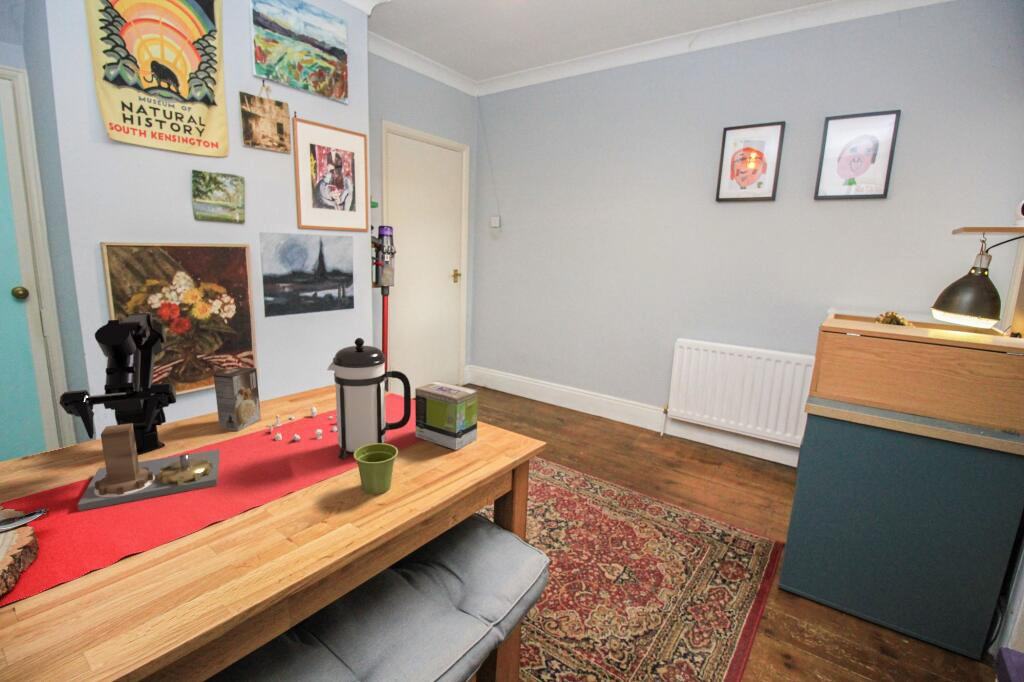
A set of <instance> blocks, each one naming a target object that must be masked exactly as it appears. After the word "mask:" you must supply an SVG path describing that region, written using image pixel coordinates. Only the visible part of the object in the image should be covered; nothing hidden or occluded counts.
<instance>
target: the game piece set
mask: <svg viewBox="0 0 1024 682" xmlns="http://www.w3.org/2000/svg"><path fill="white" fill-rule="evenodd" d="M317 410H318V409H317V408H316V407H314V406H312V407H311V408H310V416H311V417H312V418H315V417H316V415H317ZM290 413H291V415H290V416H289V419H290V420H292V421H295V420H296V418H295V417H294V414H293V411H290ZM334 417H335V419H336V420H337V415H335V414H333V415H332V416H331V415H330V416H328V419H329V420H332V419H333V418H334ZM279 418H280V415H279V414H278V413H277V414H276V415H275V419H276V422H275V423H274V422H272V423H273V424H270V425H269V427H270V428H269V430H270V434H272V433H273V431H274V428H273V427H281V426H282V425H283V422H282V421H280V420H279ZM314 432H315V434H316V437H315V438H316V439H317V440H320V439H323V437H322V434H323V430H322V429H320V428H318V429H316V430H315V431H314ZM331 432H333V433H335V432H337V426H336V425H334V426H333V427H332V431H331ZM274 438H275V439H274V440H275V441H281V440H283V437H282V433H281V432H276V435H275V436H274ZM300 439H301V437H300V435H298V434H297V433H295V434H294V436H293V438H292V441H293V440H294V441H295V442H298V441H299V440H300Z"/></svg>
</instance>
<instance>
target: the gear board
mask: <svg viewBox="0 0 1024 682" xmlns="http://www.w3.org/2000/svg"><path fill="white" fill-rule="evenodd" d="M187 454H188V455H189V458H193V459H201V458H207V462H209V461H212V463H213V469H211V474H210V475H205V476H203V477H201V480H199V481H191V482H187V483H184V485H179V486H178V484H169V485H168V486H166V485H163V481H161V482H158V478H157V474H158V473H160V469H161V468H162V467H167V466H169V465H171V464H172V462H175V461H177V462H180V455H176V456H175V455H174V456H168V457H162V458H155V459H149V460H143V461H138V463H139V468H144V467H148V468H149V472H153V480H150V481H148V482H147V483H146V484H144V485H145V487H143V488H141V489H138V488H137V489H134V490H131V491H128V492H124V494H121V495H117V494H105V495H99V490H96V488H95V482H96V481H100V480H101V479H103V478H104V477H106V476H105V475H106V474H107V472H106V466H104V467H98V469H97V470H96V473H95V474H94V476H93V477H92V480H91V481H90V483H89V485H87V487H86V490H85V492H84V493H83V495H82V497H81V499H80V500H79V502H78V503H77V508H78V512H83V511H88V510H93V509H97V508H98V509H99V508H104V507H108V506H109V507H110V506H114V505H115V506H116V505H120V504H126V503H131V502H135V501H140V500H147V499H151V498H156V497H162V496H168V495H172V494H178V493H184V492H188V491H194V490H198V489H204V488H209V487H210V488H211V487H215V486H218V478H219V469H220V468H219V467H220V466H219V465H220V458H219V457H220V456H221V455H220V449H212V450H207V451H206V450H205V451H201V452H200V451H199V452H193V453H187Z"/></svg>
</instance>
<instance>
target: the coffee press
mask: <svg viewBox="0 0 1024 682" xmlns="http://www.w3.org/2000/svg"><path fill="white" fill-rule="evenodd" d="M364 343H365V340H364V339H363V338H361V337H358V338H356V339H355V340H354V344H355V345H352V346H347V347H343V348H341V349H339V350H338V351H337V352H336V353H335V355H334V357H333V358H332V362H331V363H330V364H329V366H328V367H327V369H326V370H327V371H334V373H333V377H334V378H333V380H334V383H335V402H336V403H335V407H336V409H335V410H336V416H337V419H336V425H337V426H336V428H337V431H336V432H337V444H338V446H339V447H340V451H339V453H338V456H337V457H338V459H340V460H346V459H347V458H348V456H349V454H351V453H354V452H355V451H356V450H357V449H359V448H360V447H362V446H365V445H369V444H376V443H384V444H385V442H386V435H387V434H386V433H387V431H394V430H398V429H402V428H404V427H405V426H406V425H407V424H408V422H409V421H410V419H411V415H412V414H411V413H412V410H411V409H412V402H411V401H412V393H411V392H412V391H411V384H410V380H409V378H408V377H407V375H406V374H405V373H403V372H401V371H399V370H398V371H397V370H391V371H390V370H389V371H386V370H385V366H386V365H385V363H386V362H387V356H385V354H384V352H383V351H382V349H380V348H378V347H375V346H373V345H372V346H371V345H364ZM386 378H387V379H388V378H392V379H398V380H399V381H400V382H401V383H402V385H403V416H402V418H401V419H400V420H398V421H395V422H390V423H389V422H386V388H385V387H386V386H385V385H386V384H385V383H386Z"/></svg>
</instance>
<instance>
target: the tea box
mask: <svg viewBox="0 0 1024 682" xmlns="http://www.w3.org/2000/svg"><path fill="white" fill-rule="evenodd" d="M414 391H415V392H414V393H415V394H414V395H415V399H414V401H415V402H414V403H415V406H414V407H415V413H414V415H415V417H414V418H415V422H414V423H415V437H416V438H418V439H422V440H425V441H428V442H430V443H433V444H437V445H440V446H443V447H446V448H449V449H451V450H454V451H457V450H459V449H460V448H463V447H465V446H467V445H469V444H471V443H473V442H474V441H476V440H477V437H478V411H479V409H478V407H479V405H478V403H479V401H478V400H479V390H478V389H473V388H469V387H466V386H461V385H457V384H454V383H453V384H452V383H449V382H448V383H447V382H445V381H440V380H436V381H434V382H431V383H428V384H425V385H421V386H419V387H416V388H415V390H414Z"/></svg>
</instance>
